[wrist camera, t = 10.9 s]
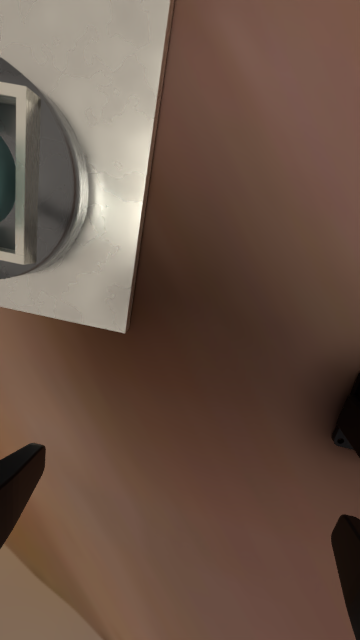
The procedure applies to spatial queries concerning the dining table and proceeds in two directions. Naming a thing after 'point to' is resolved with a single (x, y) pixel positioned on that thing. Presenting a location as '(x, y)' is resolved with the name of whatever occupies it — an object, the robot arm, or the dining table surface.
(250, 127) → the dining table surface
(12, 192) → the bottle
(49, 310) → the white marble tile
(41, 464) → the robot arm
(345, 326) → the dining table surface
